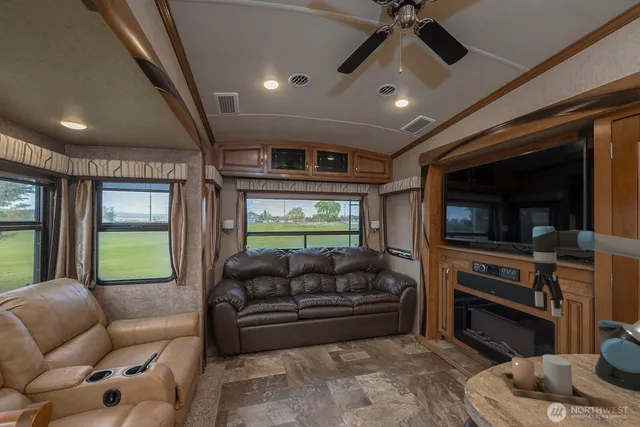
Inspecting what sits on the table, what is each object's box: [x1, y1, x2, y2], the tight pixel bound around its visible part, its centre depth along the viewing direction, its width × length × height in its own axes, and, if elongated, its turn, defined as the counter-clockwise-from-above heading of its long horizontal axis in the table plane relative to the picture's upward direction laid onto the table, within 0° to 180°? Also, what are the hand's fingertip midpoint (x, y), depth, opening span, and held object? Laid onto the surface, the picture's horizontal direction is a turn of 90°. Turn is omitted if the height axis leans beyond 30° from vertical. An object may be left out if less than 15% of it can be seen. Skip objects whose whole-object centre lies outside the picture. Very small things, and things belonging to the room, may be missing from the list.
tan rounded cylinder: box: [511, 356, 536, 392], centre depth 105 cm, size 7×7×10 cm
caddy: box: [500, 371, 590, 407], centre depth 104 cm, size 23×13×2 cm, turn 74°
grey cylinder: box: [542, 354, 573, 397], centre depth 102 cm, size 8×8×12 cm
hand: (547, 311), depth 116 cm, fingers open, 13 cm apart
